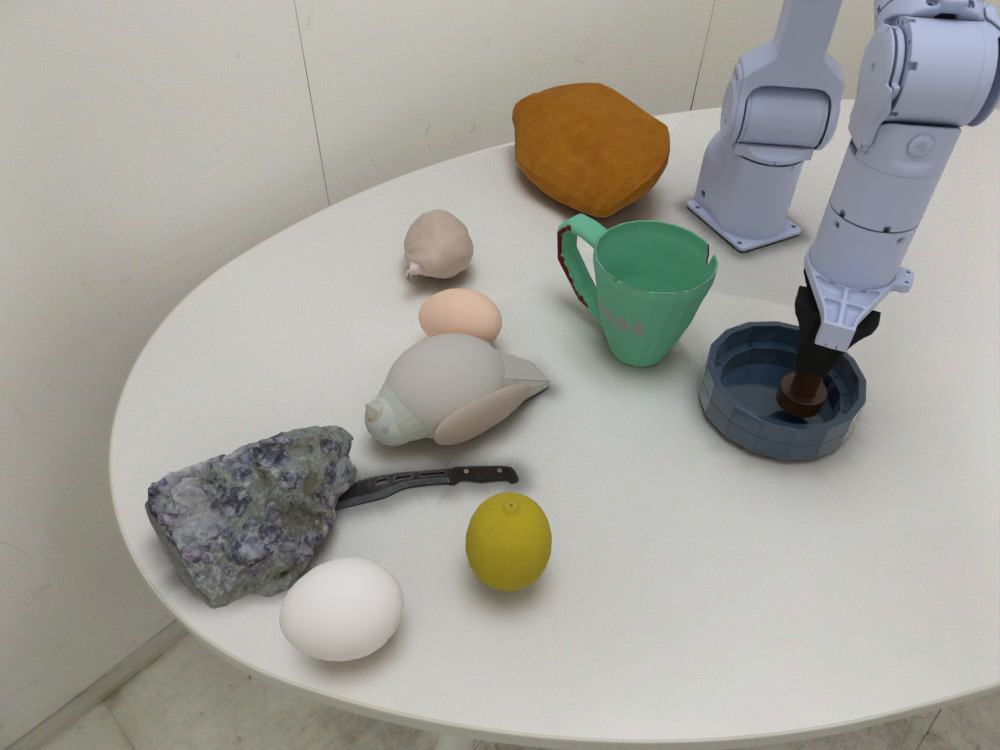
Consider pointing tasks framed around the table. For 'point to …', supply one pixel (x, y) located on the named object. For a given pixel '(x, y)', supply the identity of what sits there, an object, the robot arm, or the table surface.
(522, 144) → the bread
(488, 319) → the egg
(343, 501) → the knife
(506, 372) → the decorative bird
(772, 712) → the table surface
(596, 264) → the mug
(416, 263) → the garlic bulb
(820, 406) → the coffee tamper
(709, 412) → the bowl
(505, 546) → the lemon
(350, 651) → the egg
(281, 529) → the mineral rock
